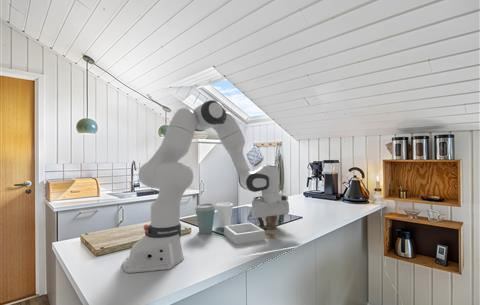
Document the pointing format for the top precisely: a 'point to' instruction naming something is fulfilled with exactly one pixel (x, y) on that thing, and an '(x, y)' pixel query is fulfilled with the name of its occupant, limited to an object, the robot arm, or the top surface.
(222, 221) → the foam cup
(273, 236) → the cork coaster
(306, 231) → the top surface
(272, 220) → the walnut block
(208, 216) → the disposable coffee cup
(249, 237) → the grey tub
